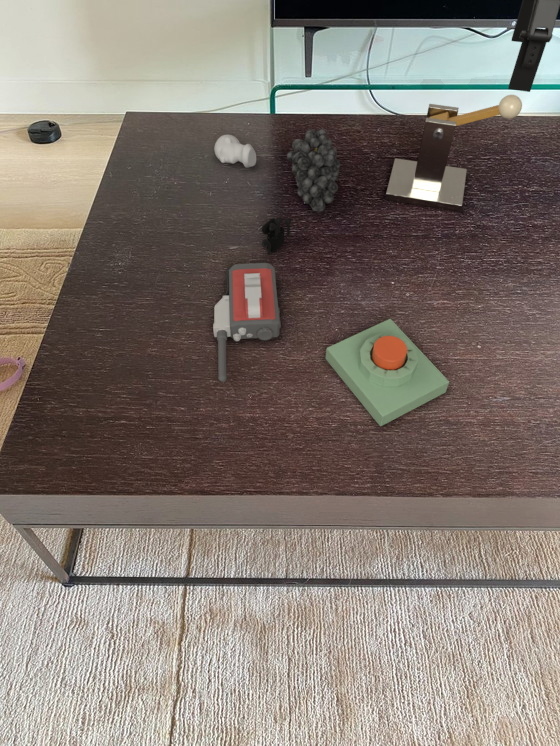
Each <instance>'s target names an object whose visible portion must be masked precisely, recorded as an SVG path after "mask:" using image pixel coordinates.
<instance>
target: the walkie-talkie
mask: <svg viewBox="0 0 560 746" xmlns="http://www.w3.org/2000/svg"><path fill="white" fill-rule="evenodd" d="M225 273H226V275H225V277H226V291H225V293H224V295H222V298H221V299H220V300H219V301H218V302H216V304H215V305H214V307H213V310H214V311H213V313H214V317H213V324H212V330H213V336H214V338H216V340H217V373H218V374H217V375H218V376H217V379H218V380H219V382H222V383H224V382H226V381H227V379H228V377H227V373H228V372H227V341H228V338H229V337H230V338H231V339H233V341H235V342H240V340H243V339H259V340H260V341H269V340H271V339H272V338H278V337H279V336H280V329H281V328H282V326H281V325H282V324H281V317H280V316H281V315H280V313H281V311H280V310H281V309H280V306H279V300H278V293H277V292H278V291H277V279H276V268H275V267H274V266H273V265H272V264H270V263H268V262H256V263H235V264H234V265H232V266H231V265H230V266H229V267H227V269H226V272H225Z"/></svg>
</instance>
